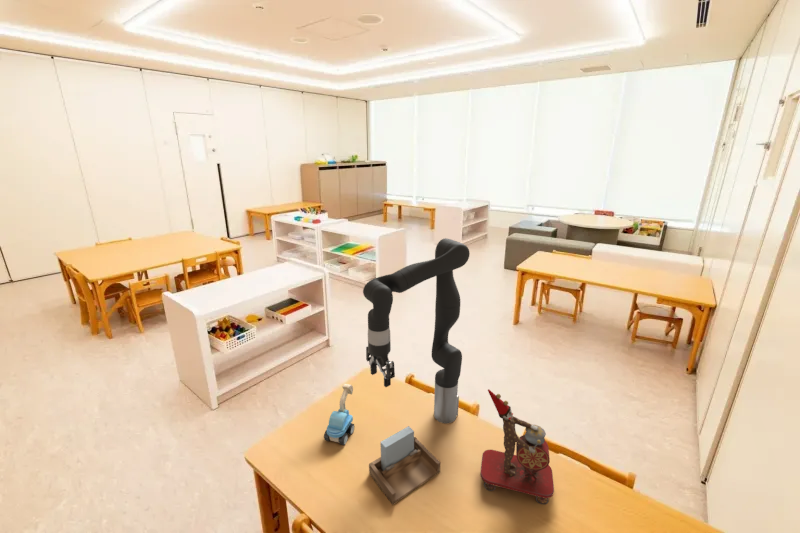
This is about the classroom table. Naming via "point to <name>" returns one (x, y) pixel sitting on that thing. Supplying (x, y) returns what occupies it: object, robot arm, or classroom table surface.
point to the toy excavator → (340, 420)
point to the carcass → (405, 473)
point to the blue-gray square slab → (397, 447)
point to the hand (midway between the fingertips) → (380, 379)
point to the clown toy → (519, 458)
